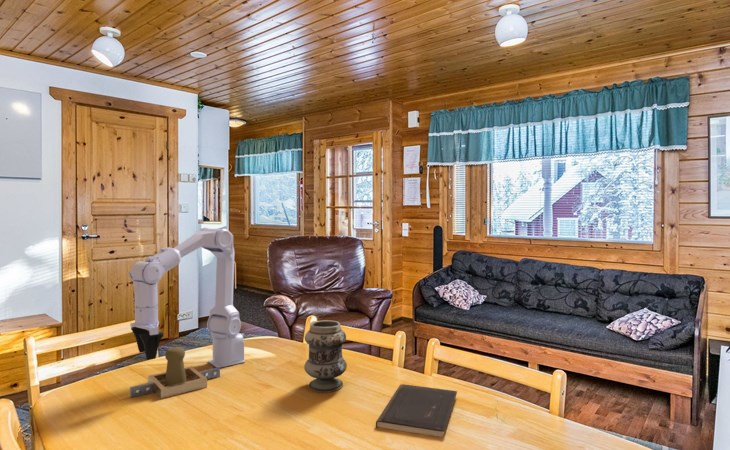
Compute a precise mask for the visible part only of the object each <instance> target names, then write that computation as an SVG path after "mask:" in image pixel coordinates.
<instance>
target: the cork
mask: <svg viewBox="0 0 730 450" xmlns="http://www.w3.org/2000/svg"><path fill="white" fill-rule="evenodd" d="M164 355H165V360H167V363H166V364H167V365H166V369H165V370H166V371H165V372H166V378H165V382H164V385H163V386H164V387H166V386H170V385H175V384H179V383H183V382H187V381H188V380H187V377H186V375H185V368H186V367H185V363H184V358H185V356H186V351H185V349H184V348H183V347H182V346H173V347H169V348H168V349H166V351H165V353H164Z"/></svg>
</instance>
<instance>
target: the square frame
mask: <svg viewBox="0 0 730 450" xmlns="http://www.w3.org/2000/svg"><path fill="white" fill-rule="evenodd" d="M184 368H185V375H186V378H190V379H191V380H186V381H187V382H183V383H179V384H175V385H170V386H166V387H164V386H165V385H163V383H164V384H165V378H166V371H164V372H160V373H155V374H151V375H147V383H142V384H137V385H132V386H130V387H129V397H130V398H136V397H139V396H143V395H148V394H152V393H153V394H154V393H155V394H156V395H157V396H158V397H159V398H160V399H161V400H163V399H165V398H169V397H173V396H178V395H182V394H185V393H190V392H195V391H198V390H202V389H205V388H208V380H211V379H214V378H215V379H216V378H219V377H221V368H219V367H217V368H216V367H214V368H208V369H204V370H199V371H198V370H197V369H196V368H194V367H193V366H187V367H184Z"/></svg>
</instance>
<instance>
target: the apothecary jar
mask: <svg viewBox="0 0 730 450" xmlns="http://www.w3.org/2000/svg"><path fill="white" fill-rule="evenodd" d="M346 339H347V333H346V332H345V330H343V329H342V328H341V323H340V322H339V321H338V320H337V321H336V320H327V319H325V320H324V319H323V320H317V321H313V322H311V323H310V327H309V329H308V331H306V333H305V334H304V341H305V343H306V344H307V345H308V359H307V360H306V361H305V362H304V365H303V366H304V367H303V368H304V371H305V373H306V374H307V375H308V376H310V377H311V378H314V379H312V380H311V381H310V382H309V383H308V388H309V390H311V391H312V392H316V393H331V392H335V391H338V390H340V389H342V388H343V386H344V382H343V381H342V380H341V379H339V378H338V377H340V376H341V375H343V374H344V373H345V372H346V370H347V367H348V366H347V365H348V364H347V361H346V359H345V358H343V344H344V343H345V342H346Z"/></svg>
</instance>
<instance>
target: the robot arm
mask: <svg viewBox="0 0 730 450" xmlns="http://www.w3.org/2000/svg"><path fill="white" fill-rule="evenodd" d="M200 248H202V249H205V250H207V251H209V252H210V253H212V254H213V255H214V256H215V258H216V272H215V297H214V299H215V303H214V305H215V306H214V307H212V308H211V309H210V310H209V316H208V319H207V323H206V329H207V331H208V332H210V336H211V337H212V358H211V359H209V360H208V363H210V365H212V366H213V367H214V368H217V367H219V368H220V369H221V368H225V367H228V366H233V365H238V364H242V363H245V362H246V360H245V341H244V340H245V339H244V336H243V335H242V334H241V333H240V331H241V327H242V321H241V318H240V312H239V311H238V310H237V308H236V307H235V306H234V286H235V285H234V282H235V280H234V278H235V256H236V255H235V254H236V253H235V247H234V234H233V233H232V232H230V230H228V229H226V228H208V227H203V228H200V229H199V230H196V231H194V234H192V235H191V236H190V237H187V238H186V239H185V240H184V241H182V242H181V243H179V244H178V245H176V246H175V247H174V248H173V247H170V246H168V247H165V246H164V247H162V248H160V249H159V250H160V251H159V252H157V253H155V254H153V255H150V256H147V257H146V259H145V261H144V260H143V261H137V262H135V263H134V264H133V266H132V267H131V268H130V272H128V277H129V279H130V280H131V281H132V283H133V284H132V287H133V289H134V292H133V293H134V322H132V323H131V322H130V323H129V326H130V329H131V331H132V333H133V335H134V338H135V342H136V346H137V349H138V352H139V353H145V358H146V360H147V361H150V360H153V359H154V360H155V359H157V354H158V350H159V345H160V342H161V340H162V339H163V337H164V332H163V331H159V325H160V320H159V298H158V297H159V293H158V292H159V291H158V289H159V288H158V283H159V282H160V281H161V279H162V277H163V275H164V274H166V273H167V272H169V271H170V270H171V269H173V268H175V267H177V266H178V265H180V262H181V259H183V257H185V256H187V255H190V254H191V253H193V252H194V251H196V250H198V249H200Z"/></svg>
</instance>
